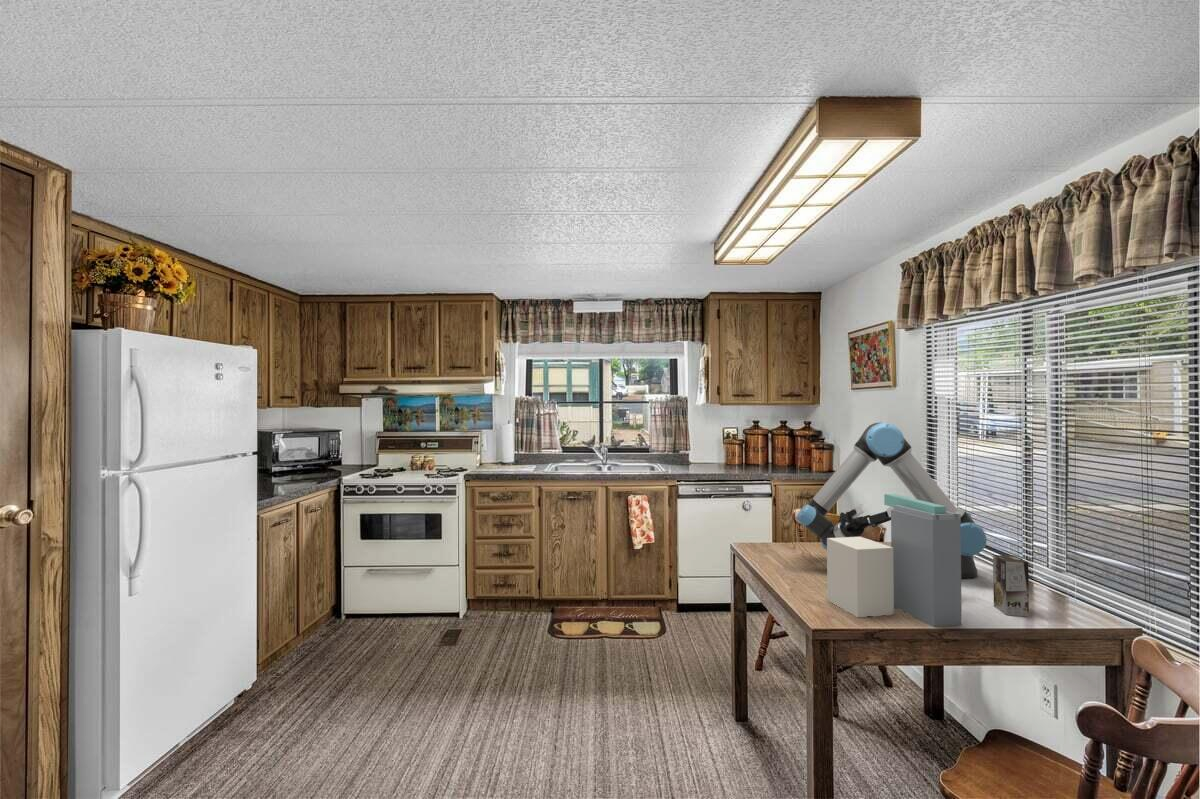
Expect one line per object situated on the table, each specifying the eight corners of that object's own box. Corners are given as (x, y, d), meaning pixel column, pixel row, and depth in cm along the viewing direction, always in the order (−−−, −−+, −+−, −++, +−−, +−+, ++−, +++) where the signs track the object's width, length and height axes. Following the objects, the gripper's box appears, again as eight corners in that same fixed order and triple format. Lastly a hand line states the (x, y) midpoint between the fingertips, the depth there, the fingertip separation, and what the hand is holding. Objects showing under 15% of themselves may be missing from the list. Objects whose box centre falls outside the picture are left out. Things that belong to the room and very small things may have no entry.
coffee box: (1030, 617, 180) (1029, 562, 180) (1005, 615, 181) (1005, 561, 182) (1015, 607, 189) (1015, 554, 189) (992, 605, 190) (992, 553, 190)
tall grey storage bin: (917, 604, 191) (916, 504, 192) (961, 624, 174) (960, 513, 174) (891, 606, 190) (890, 504, 190) (933, 626, 172) (932, 514, 172)
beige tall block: (861, 598, 198) (860, 536, 198) (893, 614, 182) (893, 547, 182) (827, 600, 195) (826, 538, 196) (857, 617, 180) (857, 549, 180)
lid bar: (894, 504, 200) (894, 493, 200) (946, 518, 175) (946, 506, 175) (884, 504, 200) (884, 494, 200) (934, 518, 174) (934, 506, 175)
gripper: (883, 537, 219) (918, 516, 201) (820, 540, 214) (850, 519, 197) (877, 517, 223) (910, 495, 205) (814, 520, 218) (843, 497, 201)
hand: (881, 506), depth 201 cm, fingers open, 13 cm apart
